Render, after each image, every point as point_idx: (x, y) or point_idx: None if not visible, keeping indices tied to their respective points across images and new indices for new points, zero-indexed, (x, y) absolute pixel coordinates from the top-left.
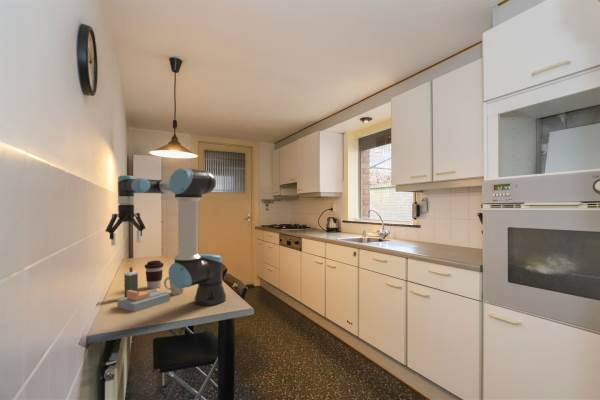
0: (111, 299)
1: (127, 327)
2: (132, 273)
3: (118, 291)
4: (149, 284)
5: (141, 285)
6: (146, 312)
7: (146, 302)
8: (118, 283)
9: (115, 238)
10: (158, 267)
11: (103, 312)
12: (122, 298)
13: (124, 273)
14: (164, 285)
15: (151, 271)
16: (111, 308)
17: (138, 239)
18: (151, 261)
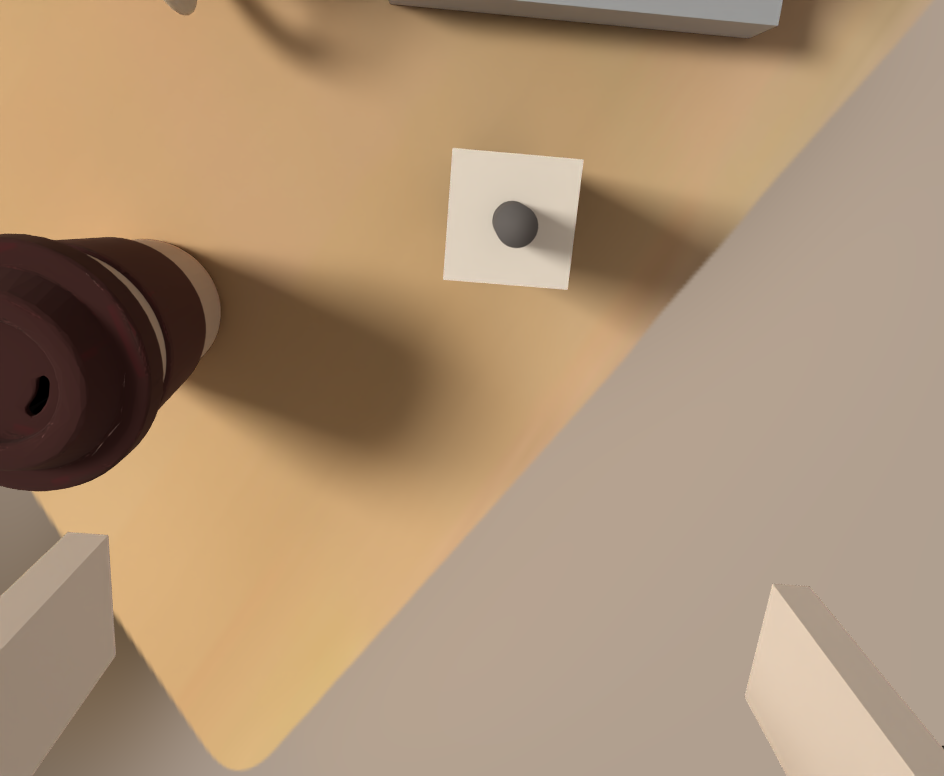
0: (607, 317)
1: None
2: (533, 156)
3: (418, 491)
4: (208, 302)
5: (185, 482)
6: None
7: None
8: (255, 722)
9: (875, 719)
10: (38, 238)
11: (894, 16)
12: (732, 13)
13: (566, 279)
14: (195, 4)
15: (140, 298)
16: (792, 56)
17: (67, 629)
18: (1, 445)
